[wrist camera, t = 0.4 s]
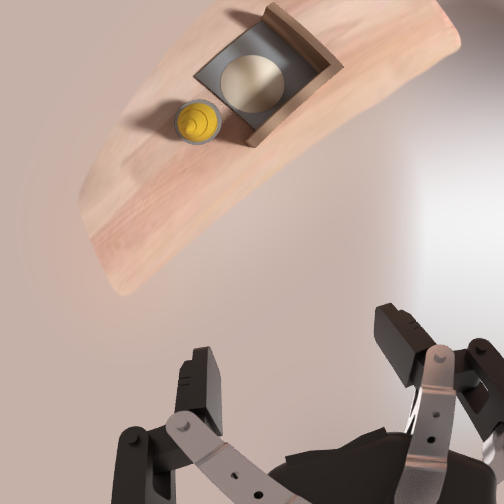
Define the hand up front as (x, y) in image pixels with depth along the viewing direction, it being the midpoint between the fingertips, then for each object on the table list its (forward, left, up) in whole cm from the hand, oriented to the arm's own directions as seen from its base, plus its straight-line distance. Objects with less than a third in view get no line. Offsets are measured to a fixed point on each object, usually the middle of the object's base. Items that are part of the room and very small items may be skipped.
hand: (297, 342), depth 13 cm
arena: (-14, -4, -27) cm, 30 cm away
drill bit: (-11, -7, -27) cm, 30 cm away
